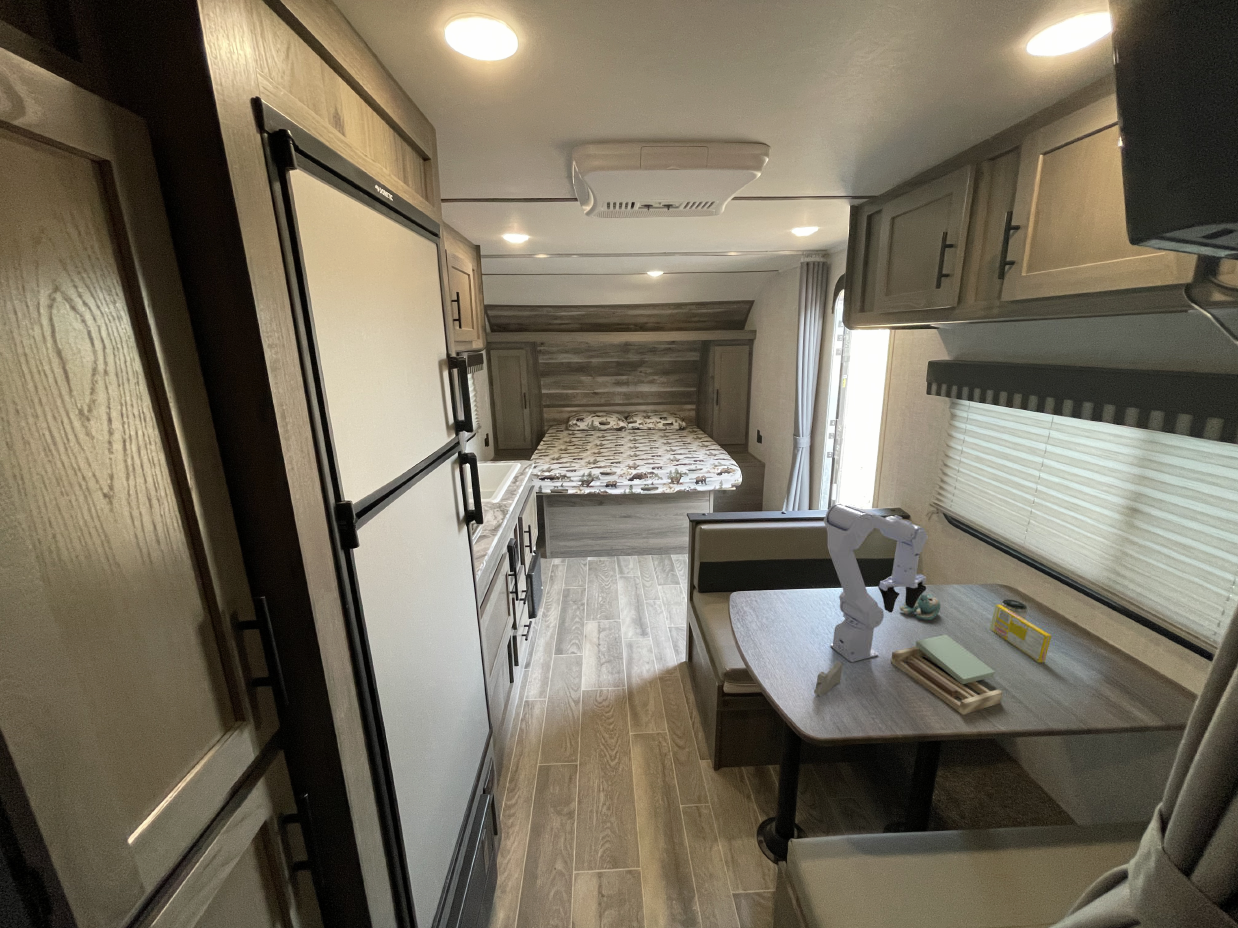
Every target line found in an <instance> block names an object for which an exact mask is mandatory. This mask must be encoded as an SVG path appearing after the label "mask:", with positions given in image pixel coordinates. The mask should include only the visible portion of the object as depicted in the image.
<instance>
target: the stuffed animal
mask: <svg viewBox="0 0 1238 928" xmlns="http://www.w3.org/2000/svg"><path fill="white" fill-rule="evenodd" d="M899 610H900V611H901V612H903V613H904V615H908V614H911V613H916V616H915V617H916V618H918V619H919V620H924V621H931V620H933V619H934V618H935V617H936V616H938V614H939V613H940V610H941V601H939V600H938V599H937V598H936V597H934V596H933V595H931V594H925V593H922V594H921V595H920V597H919V598H918V600H917V602H916V604H915V606H914V608H910V607H908V606H906V604H905V601H904V602H903V605H901V606H900V607H899Z"/></svg>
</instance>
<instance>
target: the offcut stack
mask: <svg viewBox="0 0 1238 928" xmlns="http://www.w3.org/2000/svg"><path fill="white" fill-rule="evenodd" d="M907 666H909V667H910V668H912V669H913V670H914V671H916V672H917V673H919V674H920V675H921V676H923V677H924V678H926V679H927V680H929V681H930V682H931V683H933V684H934V685H936V686H937V687H938V688H940V689H941V690H943V691H944V692H945V693H947V694H948V695H950V696H951V697H952V698H954V699H955V698H957V697H958V696H957V689H955V688H954V687H952V686H951V685H949V684H948V683H947V682H945V681H944V680H942V679H941V678H939V677H938V676H936V675H935V674H933V673H932V672H931V671H929V670H928V669H926V668H925V667H923V666H922V665H919V664H918V663H916V662H915V661H912V660H910V661H909V662H908V665H907Z"/></svg>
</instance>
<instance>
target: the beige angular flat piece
mask: <svg viewBox="0 0 1238 928" xmlns="http://www.w3.org/2000/svg"><path fill="white" fill-rule="evenodd" d="M842 673H843V663H842V662H840V661H838V660H837V661H835V662H834V664H833V666H831V668H830V669H828V671H827V672H826V673H825V672H824V671H821V672H819V673H818V674H817V677H816V684H815V688H814V690H813V693H814V694H815V695H817V696H819V697H822V696H825V695H826V694H827V693H829V692H830V690H832V688H833V687H834V686H835V685H840V684H841V681H842Z"/></svg>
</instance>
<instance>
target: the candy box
mask: <svg viewBox="0 0 1238 928" xmlns="http://www.w3.org/2000/svg"><path fill="white" fill-rule="evenodd" d="M993 609H994V610H993V614H992V618H991V623H990V625H989V630H991V631H993V632H994V633H995V634H996V633H997V634H996V635H998V636H1000V638H1002V639H1004V640H1006V642H1008V643H1010V644H1011V645H1013V646H1014V647H1016V648H1017V649H1019V650H1020V651H1021V652H1023V653H1024V654H1026V655H1028V656H1029V657H1030V658H1031V659H1033V660H1034V661H1035V662H1037V663H1045V662H1046V658H1047V654H1048V650H1049V647H1050V644H1051V639H1052V635H1051V634H1049V633H1048V632H1046V631H1045V630H1043V629H1041V628H1040V627H1038V626H1036V625H1035V624H1033V623H1031V622H1030V621H1028V620H1027V619H1026V620H1025V619H1023V618H1021V617H1020V616H1018V615H1017V614H1015V613H1013V612H1012V611H1010V610H1008V609H1007V608H1005V607H1003V606H1002V605H1001V604H995V605H994V608H993Z"/></svg>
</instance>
